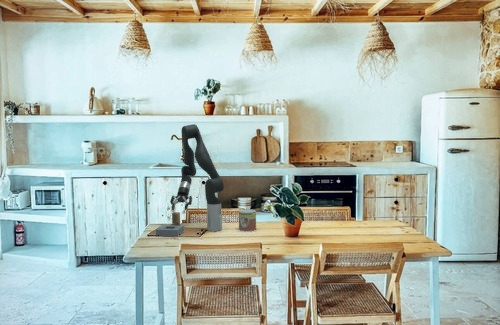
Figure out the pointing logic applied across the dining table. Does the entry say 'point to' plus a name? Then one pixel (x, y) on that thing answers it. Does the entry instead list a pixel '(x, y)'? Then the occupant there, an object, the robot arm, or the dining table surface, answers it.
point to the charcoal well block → (169, 230)
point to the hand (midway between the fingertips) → (179, 209)
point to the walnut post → (176, 218)
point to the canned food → (247, 220)
